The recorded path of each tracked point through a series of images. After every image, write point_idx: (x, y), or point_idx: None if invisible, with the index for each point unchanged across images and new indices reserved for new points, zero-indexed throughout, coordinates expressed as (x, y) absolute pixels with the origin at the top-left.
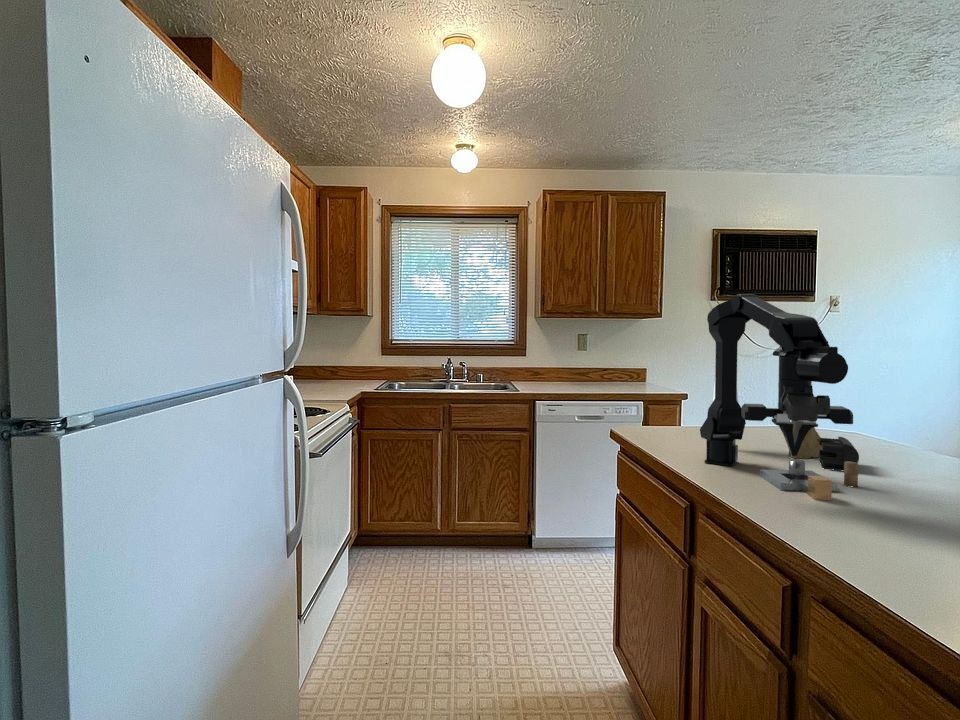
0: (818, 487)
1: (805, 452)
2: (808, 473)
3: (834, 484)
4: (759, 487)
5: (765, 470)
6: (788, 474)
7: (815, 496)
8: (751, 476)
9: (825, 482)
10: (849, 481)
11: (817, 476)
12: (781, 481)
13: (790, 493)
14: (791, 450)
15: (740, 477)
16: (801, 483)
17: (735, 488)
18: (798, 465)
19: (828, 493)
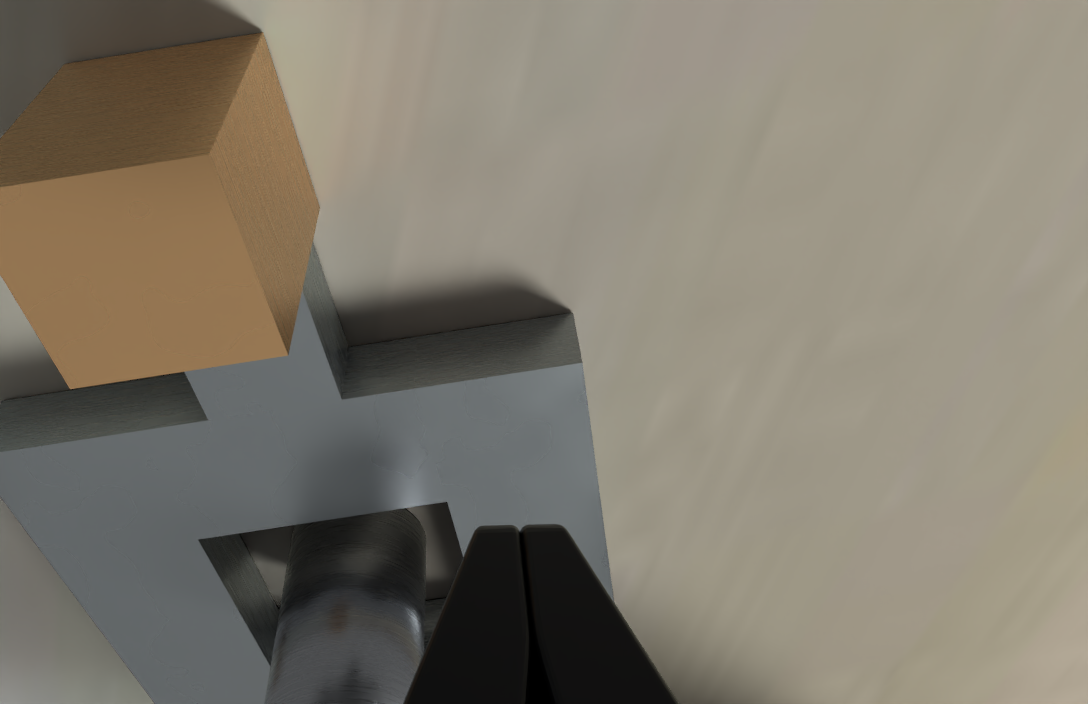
0: (185, 104)
1: None
2: (233, 693)
3: (2, 454)
4: (754, 352)
5: None
6: None
7: (249, 48)
8: (694, 618)
9: (61, 160)
10: None
11: (160, 351)
12: (551, 422)
13: (496, 228)
14: (598, 604)
15: (801, 577)
16: (352, 403)
17: (1028, 260)
18: (338, 677)
19: (72, 93)
